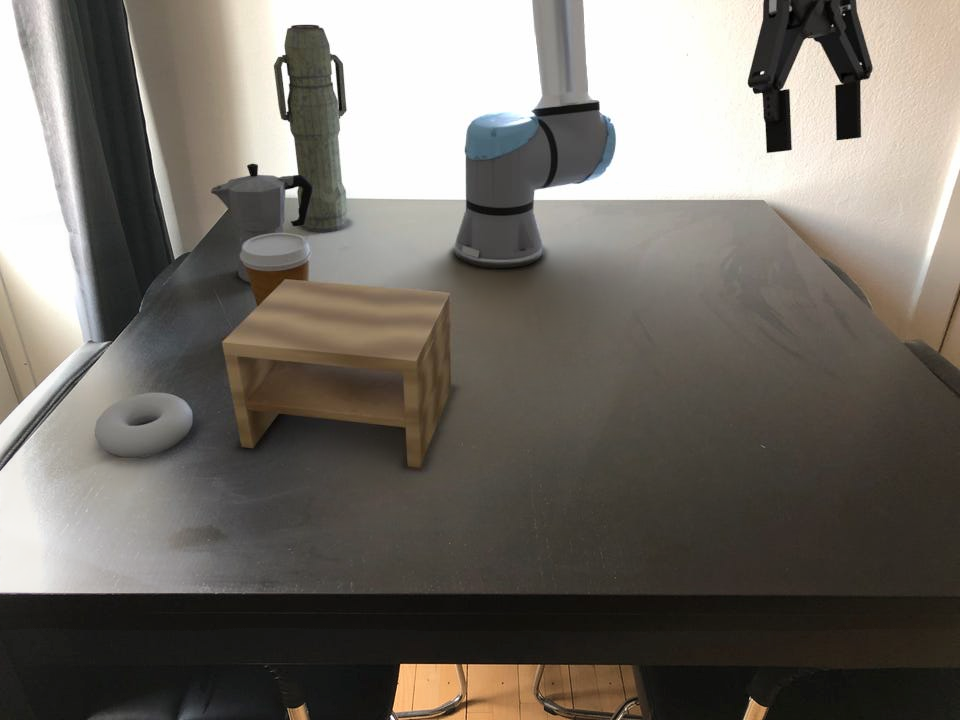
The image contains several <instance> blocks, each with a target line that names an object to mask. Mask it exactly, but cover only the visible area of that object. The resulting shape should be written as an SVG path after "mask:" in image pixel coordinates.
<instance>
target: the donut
mask: <svg viewBox="0 0 960 720" xmlns="http://www.w3.org/2000/svg"><path fill="white" fill-rule="evenodd" d="M192 426H193V411H192V408H191V407H190V405H189V404H188V403H187V402H186V401H185V400H184V399H183V398H180V397H179V396H178V395H174V394H170V393H167V392H166V393H165V392H146V393H139V394H135V395H131V396H128V397H125V398H123V399H121V400H118V401H116V402H114V403H113V404H111V405H110V406H108V408H106V409H104V411H102V413H101V414H100V416H99V417H98V418H97V420H96V423H95V426H94V437H95V439H96V442H97V443H98V445H99V447H100V448H102V450H104V451H106V453H107V452H108V453H109V454H111V455H114V456H118V457H123V458H143V457H149V456H153V455H156V454H160V453H162V452H165V451H167V450H169V449H171V448H173V447H175V446H176V445H177V444H179V443H180V442H181V441H182V440H183V439H184V438H185V437H187V435H188V433H189V432H190V430H191V428H192Z"/></svg>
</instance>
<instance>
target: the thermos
mask: <svg viewBox="0 0 960 720" xmlns="http://www.w3.org/2000/svg"><path fill="white" fill-rule="evenodd" d="M283 47H284V54H282V56H277V58H276V59H275V62H274V64H273V71H274V79H275V87H276V88H275V89H276V96H277V103H278V104H277V105H278V110H279V115H280V119H281V120H282V121H287V122H288V123H289V128H290V129H289V130H290V133H291V135H292V137H293V140H294V141H293V142H294V149H295V150H294V151H295V157H296V167H297V175H303V176H304V177H305V178H306V179H307V180H308V181H310V182H311V184H312V185H313V193H312V197H311V201H310V205H309V209H308V213H307V218H306V222H305V224H304V225H301V227H302V229H304V230H306V231H308V232H315V233H327V232H335V231H338V230H341V229H344V228H345V227H347V226H348V223H349V222H348V218H347V213H348V202H347V191H346V187H345V185H344V184H343V179H342V178H343V177H342V168H341V167H342V166H341V153H340V144H339V143H340V141H339V134H340V131H341V124H340V119H341V117H343V116H344V114H346V112H347V111H348V110H347V109H348V108H347V100H346V85H345V73H344V64H343V62H342V60H341V59H340V58H339V57H338V56H337V55H336V54H332V53H331V48H330V47H331V45H330V42H329V39H328V37H327V34H326V32H325V30H324V27H320V25H319V24H318V25H317V24H293V25H291V27H288V28H287V29H286V34H285V39H284V45H283ZM332 62H333V63H334V66H335V69H334V70H335V79H336V80H335V81H336V92H337V93H335V90H334V83H333V82H332V75H333V71H332ZM283 63H284V64H286V72H287V76H288V79H289V83H288V90H289V91H288V96H287V100H286V97H285V88H284V87H285V85H284V78H283V70H282V66H283ZM336 94H337V95H336ZM286 102H287V104H286ZM302 190H303V188H302V187H297V190H296V193H297V202H298V207H299V206H300V204H301V193H302Z"/></svg>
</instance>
